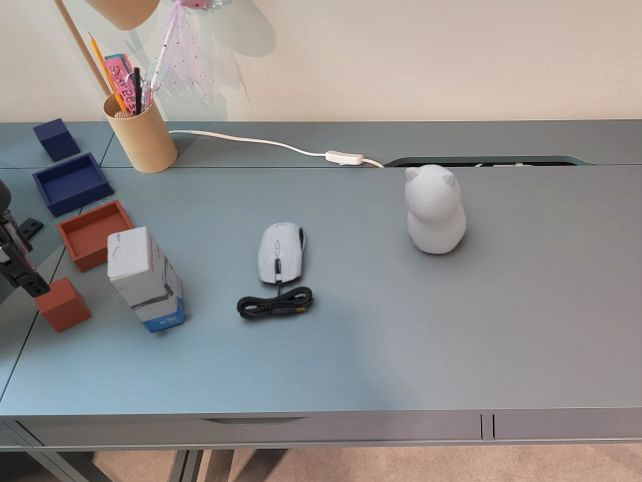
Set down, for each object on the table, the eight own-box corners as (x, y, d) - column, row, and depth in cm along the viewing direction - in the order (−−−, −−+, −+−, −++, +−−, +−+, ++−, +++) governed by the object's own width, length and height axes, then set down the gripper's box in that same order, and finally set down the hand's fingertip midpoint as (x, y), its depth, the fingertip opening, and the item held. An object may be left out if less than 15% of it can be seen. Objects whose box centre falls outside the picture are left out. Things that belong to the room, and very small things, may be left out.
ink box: (185, 324, 89) (150, 270, 80) (147, 334, 88) (107, 281, 79) (181, 278, 94) (148, 223, 85) (145, 287, 93) (107, 232, 84)
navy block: (53, 162, 110) (39, 141, 106) (46, 148, 112) (32, 127, 108) (81, 151, 111) (67, 131, 108) (73, 138, 113) (60, 117, 110)
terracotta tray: (81, 272, 95) (72, 261, 93) (63, 235, 99) (55, 224, 97) (143, 244, 98) (137, 233, 96) (124, 210, 103) (117, 198, 101)
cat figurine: (401, 260, 97) (389, 187, 85) (420, 202, 105) (411, 128, 93) (460, 267, 96) (456, 194, 84) (474, 208, 104) (472, 134, 92)
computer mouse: (315, 222, 102) (310, 204, 98) (314, 315, 90) (308, 298, 87) (251, 229, 100) (243, 211, 97) (241, 324, 89) (232, 307, 86)
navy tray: (55, 217, 101) (46, 206, 100) (39, 185, 106) (31, 174, 104) (114, 193, 105) (107, 181, 103) (97, 163, 110) (90, 151, 108)
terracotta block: (57, 332, 88) (39, 313, 85) (49, 311, 90) (31, 292, 87) (92, 316, 90) (75, 297, 86) (82, 296, 92) (66, 276, 88)
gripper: (-100, 157, 72) (-11, 252, 85) (-78, 231, 65) (15, 322, 78) (-26, 131, 75) (49, 227, 88) (2, 199, 68) (80, 293, 81)
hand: (33, 272), depth 83 cm, fingers open, 8 cm apart
